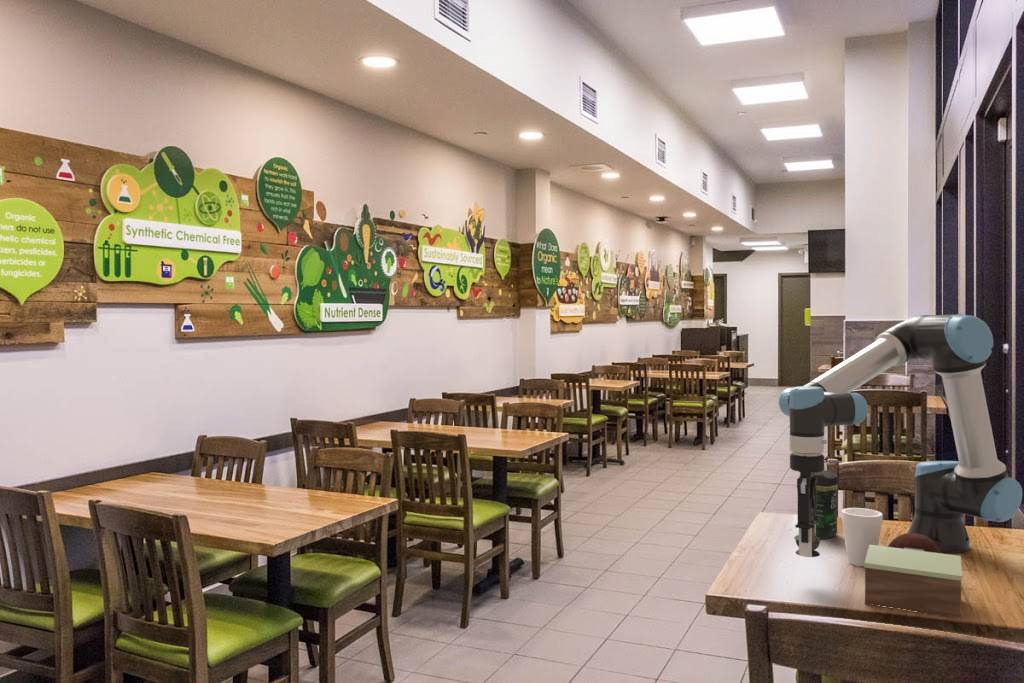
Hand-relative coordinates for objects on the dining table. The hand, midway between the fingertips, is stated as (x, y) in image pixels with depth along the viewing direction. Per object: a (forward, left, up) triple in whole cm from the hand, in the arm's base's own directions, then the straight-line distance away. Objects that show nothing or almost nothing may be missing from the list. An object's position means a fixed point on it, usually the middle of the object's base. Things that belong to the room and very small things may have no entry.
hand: (807, 551), depth 182 cm
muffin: (-29, -3, -8) cm, 30 cm away
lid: (-18, +13, 0) cm, 22 cm away
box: (-18, +13, -8) cm, 23 cm away
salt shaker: (0, 0, -1) cm, 1 cm away
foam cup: (-22, -14, -8) cm, 27 cm away
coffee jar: (-25, -40, -8) cm, 47 cm away
